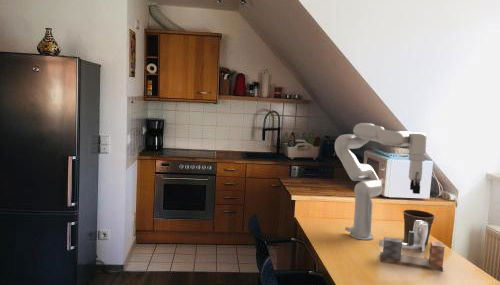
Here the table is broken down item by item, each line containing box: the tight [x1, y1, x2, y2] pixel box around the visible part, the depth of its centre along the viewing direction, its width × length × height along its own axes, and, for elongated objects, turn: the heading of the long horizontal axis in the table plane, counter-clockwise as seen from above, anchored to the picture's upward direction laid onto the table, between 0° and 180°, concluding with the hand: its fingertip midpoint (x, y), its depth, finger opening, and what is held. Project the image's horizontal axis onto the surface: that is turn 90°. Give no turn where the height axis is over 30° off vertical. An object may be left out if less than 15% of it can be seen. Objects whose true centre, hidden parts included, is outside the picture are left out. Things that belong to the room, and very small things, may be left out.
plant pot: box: [402, 209, 436, 246], centre depth 222 cm, size 16×16×16 cm
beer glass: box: [413, 220, 428, 253], centre depth 209 cm, size 7×7×15 cm
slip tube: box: [378, 231, 423, 253], centre depth 193 cm, size 19×3×9 cm, turn 73°
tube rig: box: [379, 236, 445, 272], centre depth 192 cm, size 27×10×11 cm, turn 72°
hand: (414, 191), depth 202 cm, fingers open, 9 cm apart
